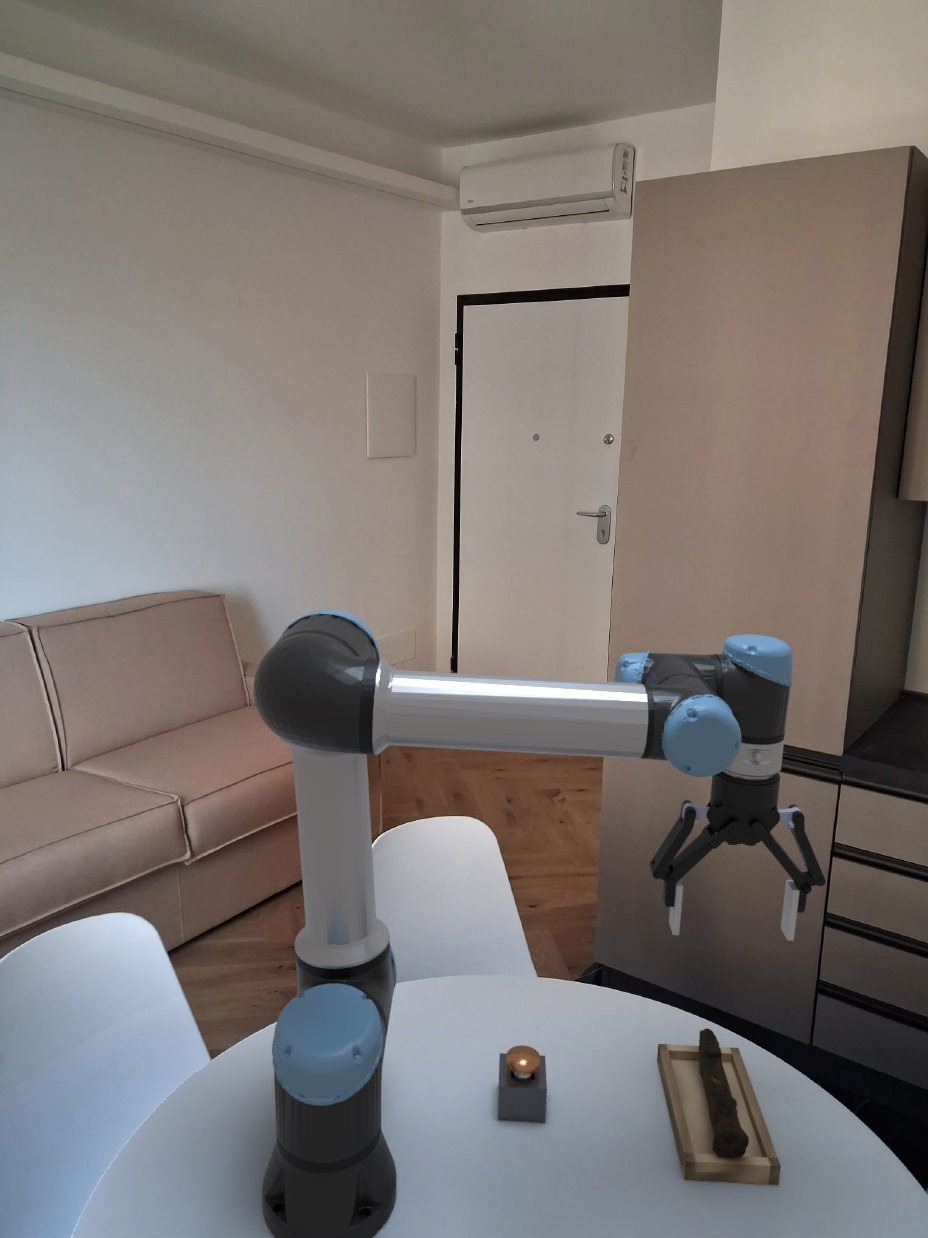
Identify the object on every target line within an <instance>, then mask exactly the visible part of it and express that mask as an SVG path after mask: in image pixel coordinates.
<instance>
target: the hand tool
mask: <svg viewBox="0 0 928 1238" xmlns="http://www.w3.org/2000/svg"><path fill="white" fill-rule="evenodd" d="M698 1042H699V1043H698V1046H699V1053H700V1058H699V1064H700V1065H699V1069H700V1070H699V1072H700V1075H701V1077H702V1079H703V1085H704V1089H705V1096H706V1099H707V1103H708V1108H709V1110H708V1111H709V1116H710V1121H711V1124H712V1127H713V1131H714V1139H713V1148H712V1150H713V1151H714V1152H715V1154H716V1155H717V1156H718V1157H725V1158H738V1157H742V1156H743V1155H744V1154H745V1153H746V1148H747V1146H748V1144H749V1137H748V1136H747V1134H746V1133H745V1131H744V1130H743V1129H742V1128H741V1126H740V1122H739V1118H738V1115H737V1114H738V1113H737V1109H736V1107H737V1102H736V1100H735V1099H734V1098H733V1097H732V1094H731V1091H730V1087H729V1083H728V1081H727V1077H726V1074H725V1071H724V1067H723V1063H722V1059H721V1057H722V1053H721V1049H720V1047H721V1046H720V1042H719V1040H718V1038H717V1036H716V1035H715V1033H714V1031H713V1030H712V1029H710V1028H707V1027H706V1028H704V1029H703V1030H699V1040H698Z"/></svg>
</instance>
